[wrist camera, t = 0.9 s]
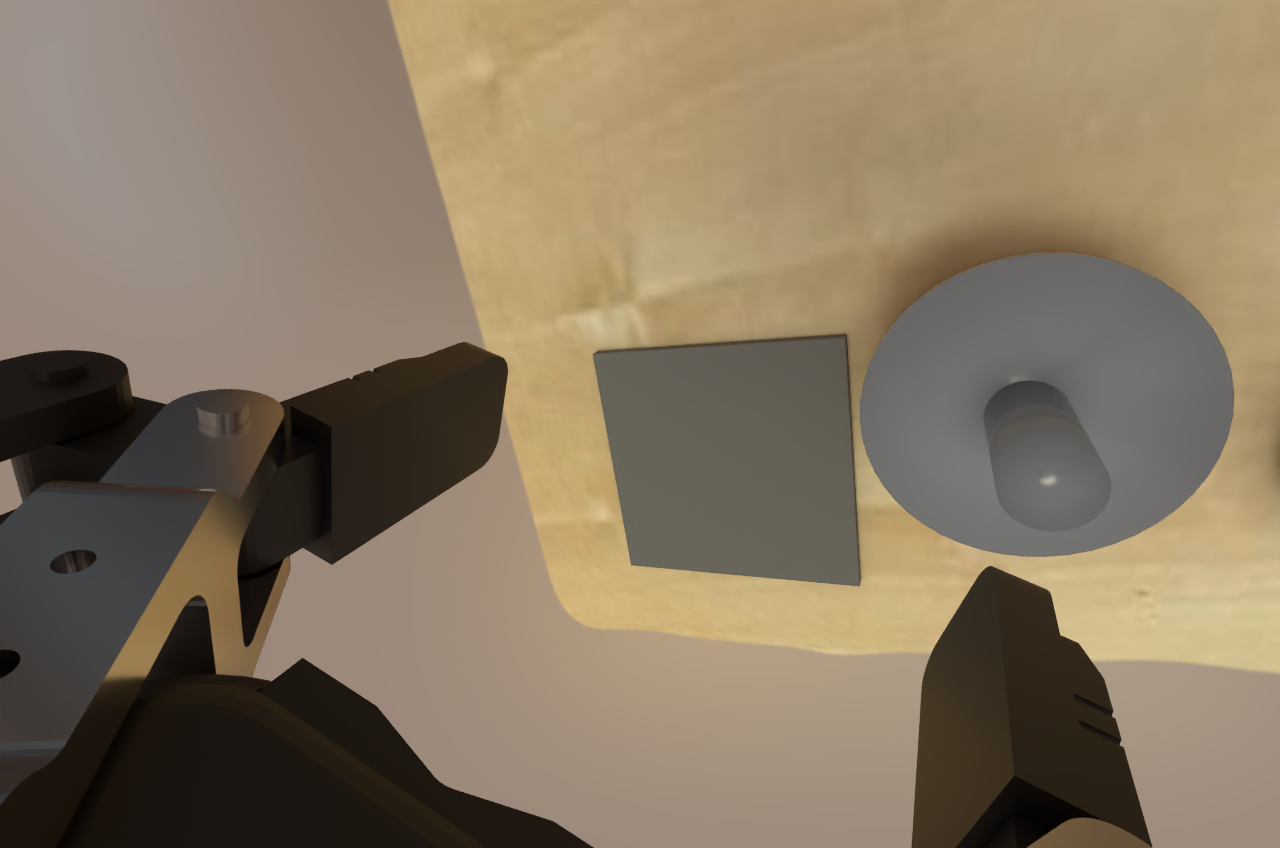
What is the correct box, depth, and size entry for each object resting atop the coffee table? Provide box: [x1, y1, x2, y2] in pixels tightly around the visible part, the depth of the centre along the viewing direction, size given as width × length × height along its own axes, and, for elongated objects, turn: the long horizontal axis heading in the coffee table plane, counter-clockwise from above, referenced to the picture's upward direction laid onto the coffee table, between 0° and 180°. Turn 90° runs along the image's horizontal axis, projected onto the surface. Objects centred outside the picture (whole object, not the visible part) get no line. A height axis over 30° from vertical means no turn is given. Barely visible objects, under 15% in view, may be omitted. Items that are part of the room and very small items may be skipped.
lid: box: [860, 252, 1234, 557], centre depth 21 cm, size 12×12×7 cm
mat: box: [593, 335, 861, 586], centre depth 36 cm, size 14×14×1 cm
